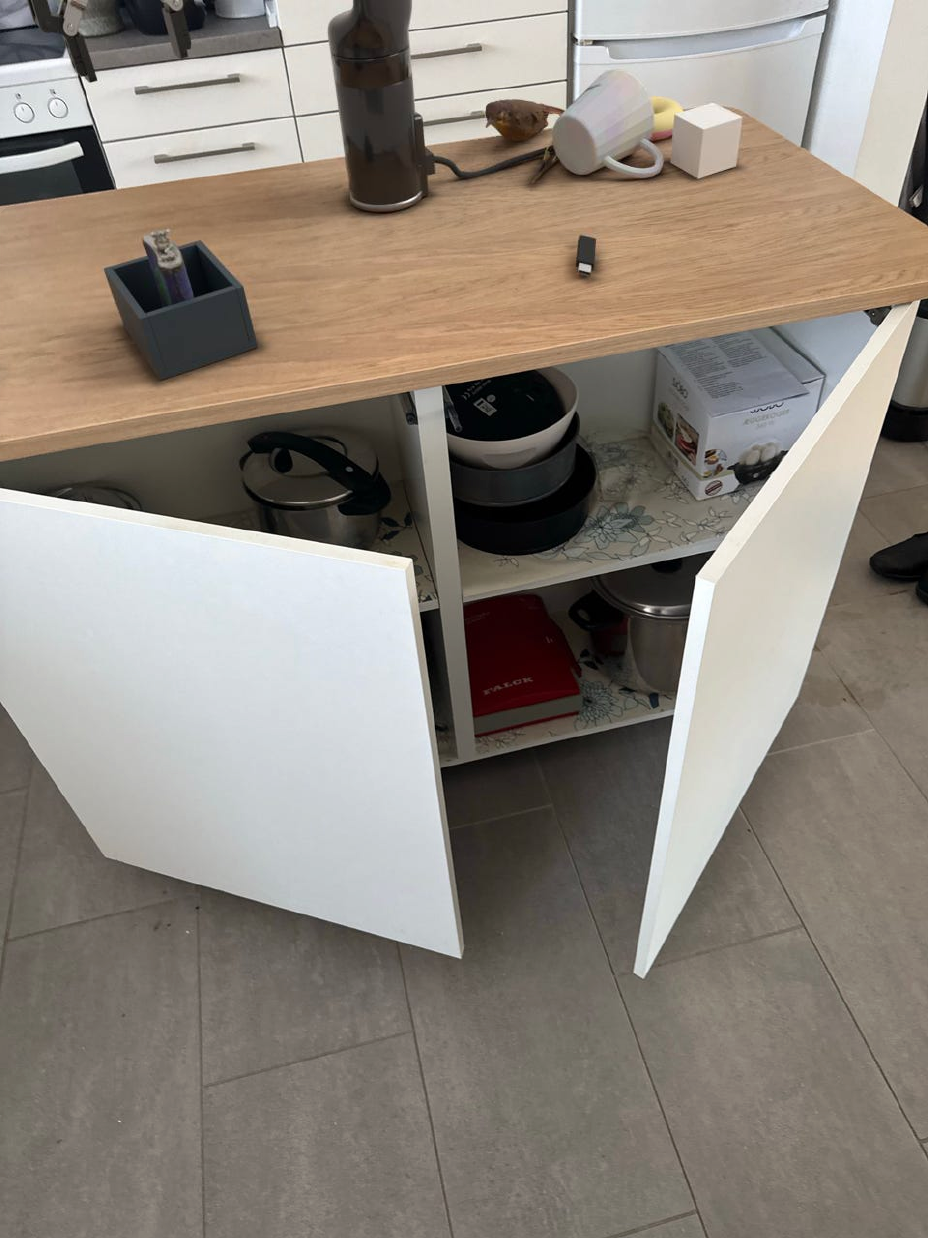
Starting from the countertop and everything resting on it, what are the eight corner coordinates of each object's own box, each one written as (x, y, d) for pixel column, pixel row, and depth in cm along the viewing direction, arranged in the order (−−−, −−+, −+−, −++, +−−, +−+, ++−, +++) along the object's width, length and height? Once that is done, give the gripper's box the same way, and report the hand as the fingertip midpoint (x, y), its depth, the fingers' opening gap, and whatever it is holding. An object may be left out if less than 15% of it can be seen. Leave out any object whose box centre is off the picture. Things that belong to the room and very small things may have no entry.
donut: (689, 141, 133) (634, 118, 136) (700, 106, 130) (643, 83, 133) (654, 154, 127) (598, 130, 130) (665, 117, 124) (606, 94, 127)
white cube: (674, 113, 119) (669, 162, 123) (703, 128, 115) (697, 178, 120) (713, 102, 121) (707, 150, 125) (743, 116, 117) (736, 166, 121)
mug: (534, 151, 125) (584, 116, 129) (614, 225, 124) (662, 188, 127) (554, 85, 115) (607, 49, 119) (641, 165, 114) (692, 126, 117)
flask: (163, 315, 102) (133, 216, 94) (189, 307, 103) (161, 209, 95) (187, 354, 96) (156, 252, 88) (214, 346, 97) (187, 244, 89)
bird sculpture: (579, 138, 141) (585, 100, 138) (504, 149, 122) (509, 105, 119) (539, 130, 143) (544, 93, 140) (459, 140, 124) (464, 97, 122)
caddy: (216, 298, 105) (200, 239, 100) (258, 347, 98) (243, 286, 93) (124, 327, 102) (103, 268, 97) (160, 380, 94) (139, 319, 89)
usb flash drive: (576, 266, 103) (574, 275, 104) (594, 270, 103) (591, 279, 104) (579, 234, 108) (577, 242, 109) (596, 237, 108) (594, 246, 109)
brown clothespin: (539, 186, 121) (538, 175, 120) (520, 186, 122) (518, 175, 121) (570, 149, 128) (569, 138, 127) (552, 149, 129) (551, 138, 128)
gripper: (141, -182, 78) (196, 39, 90) (-34, -152, 73) (48, 76, 85) (171, -173, 73) (225, 59, 85) (-14, -140, 69) (70, 99, 81)
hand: (136, 67), depth 85 cm, fingers open, 8 cm apart
